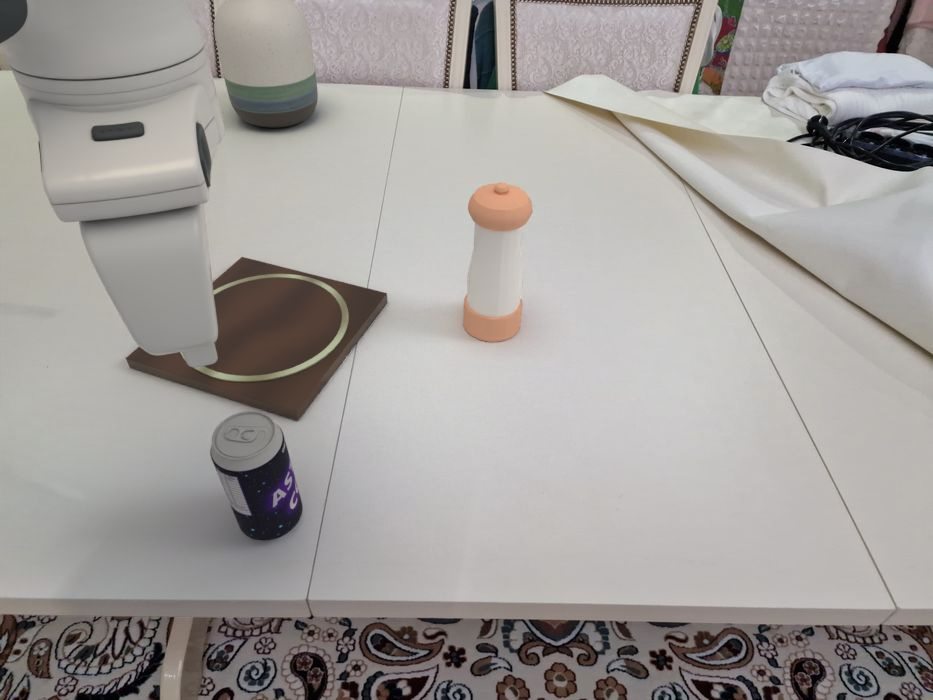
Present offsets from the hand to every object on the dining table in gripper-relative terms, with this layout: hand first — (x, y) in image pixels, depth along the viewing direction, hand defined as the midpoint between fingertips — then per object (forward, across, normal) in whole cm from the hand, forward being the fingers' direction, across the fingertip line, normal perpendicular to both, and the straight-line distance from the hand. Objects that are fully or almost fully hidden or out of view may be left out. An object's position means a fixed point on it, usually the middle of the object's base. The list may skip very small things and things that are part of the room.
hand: (200, 313), depth 42 cm
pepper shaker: (+23, -18, +30) cm, 42 cm away
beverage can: (+23, +2, 0) cm, 23 cm away
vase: (+23, -91, +13) cm, 95 cm away
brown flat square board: (+23, -25, +3) cm, 34 cm away
